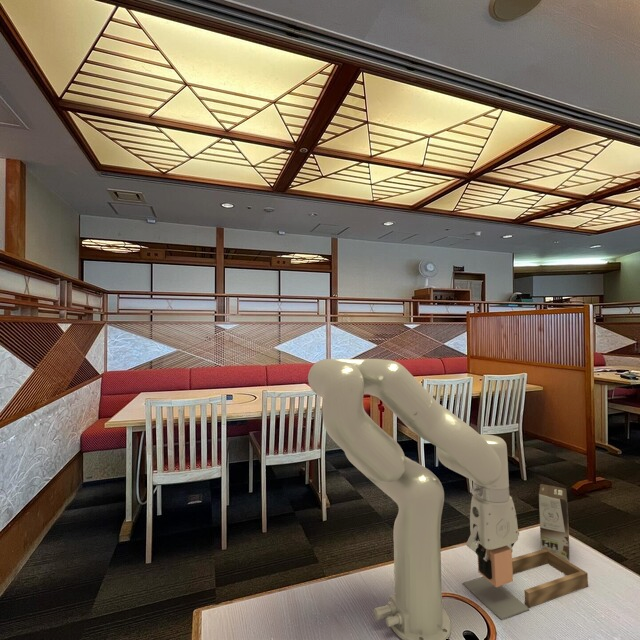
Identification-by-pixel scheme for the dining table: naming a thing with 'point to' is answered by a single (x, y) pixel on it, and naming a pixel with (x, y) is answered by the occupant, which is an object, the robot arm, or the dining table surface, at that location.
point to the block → (500, 566)
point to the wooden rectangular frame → (553, 588)
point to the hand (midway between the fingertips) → (495, 571)
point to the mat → (496, 598)
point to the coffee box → (554, 520)
